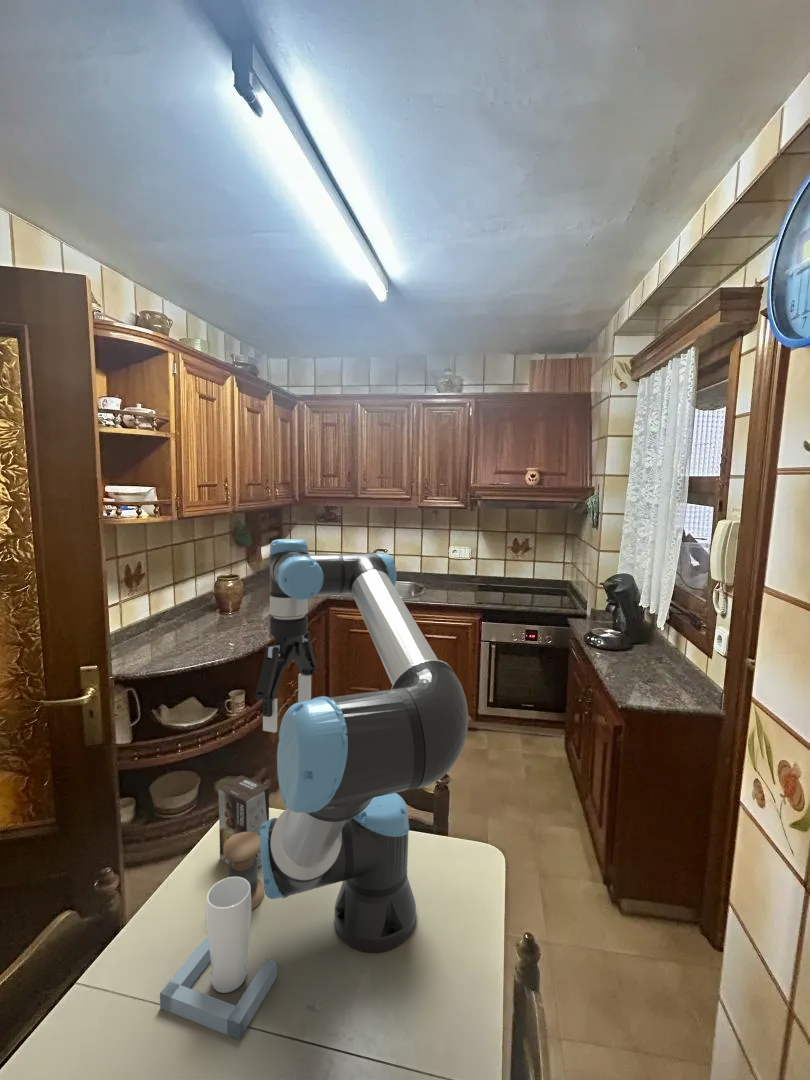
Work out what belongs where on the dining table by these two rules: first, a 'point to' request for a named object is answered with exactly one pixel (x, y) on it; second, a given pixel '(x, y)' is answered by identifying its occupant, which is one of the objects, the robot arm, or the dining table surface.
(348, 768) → the robot arm
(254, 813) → the coffee box
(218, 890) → the drinking glass
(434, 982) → the dining table surface
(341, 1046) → the dining table surface
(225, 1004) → the blue u-shaped block
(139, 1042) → the dining table surface
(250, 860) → the bobbin
